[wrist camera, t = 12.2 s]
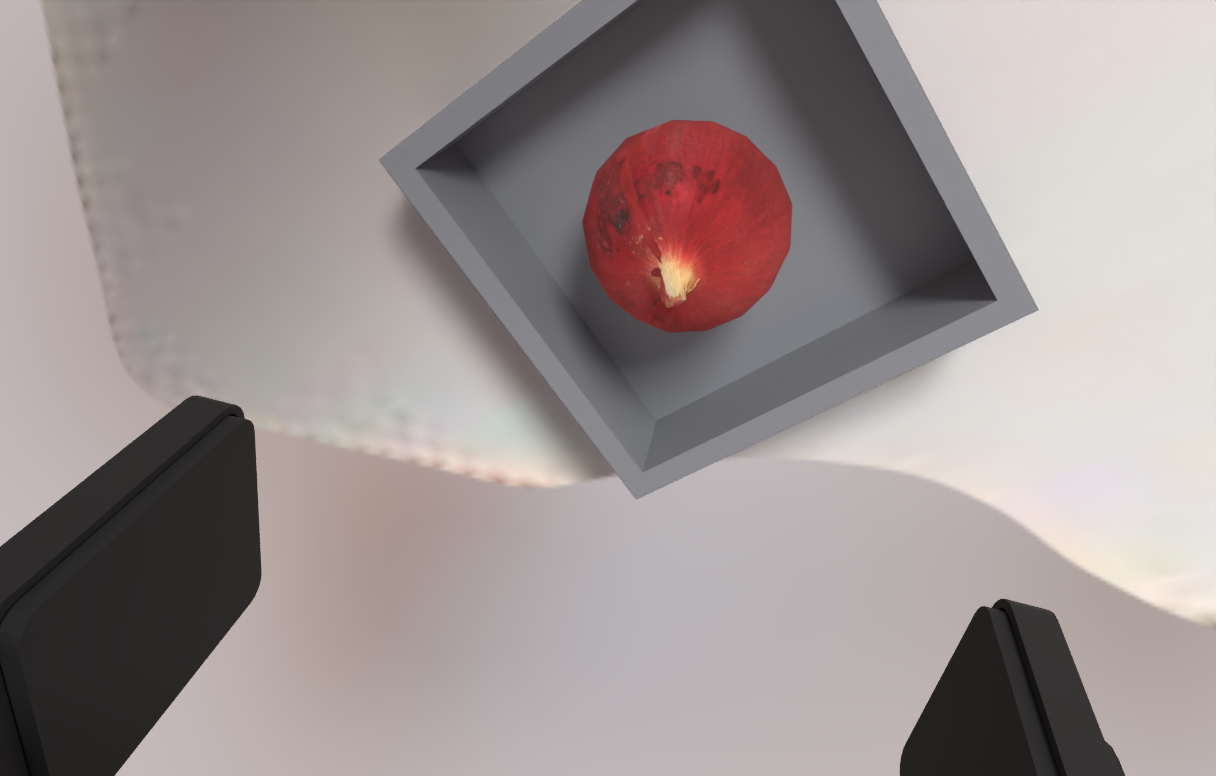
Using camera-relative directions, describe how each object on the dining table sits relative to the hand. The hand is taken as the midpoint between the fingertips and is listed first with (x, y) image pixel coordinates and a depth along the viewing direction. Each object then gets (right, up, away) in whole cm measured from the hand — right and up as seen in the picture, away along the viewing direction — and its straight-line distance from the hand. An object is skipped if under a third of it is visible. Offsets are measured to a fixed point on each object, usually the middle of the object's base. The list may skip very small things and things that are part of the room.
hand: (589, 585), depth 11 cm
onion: (+3, +9, +17) cm, 19 cm away
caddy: (+4, +9, +17) cm, 20 cm away
